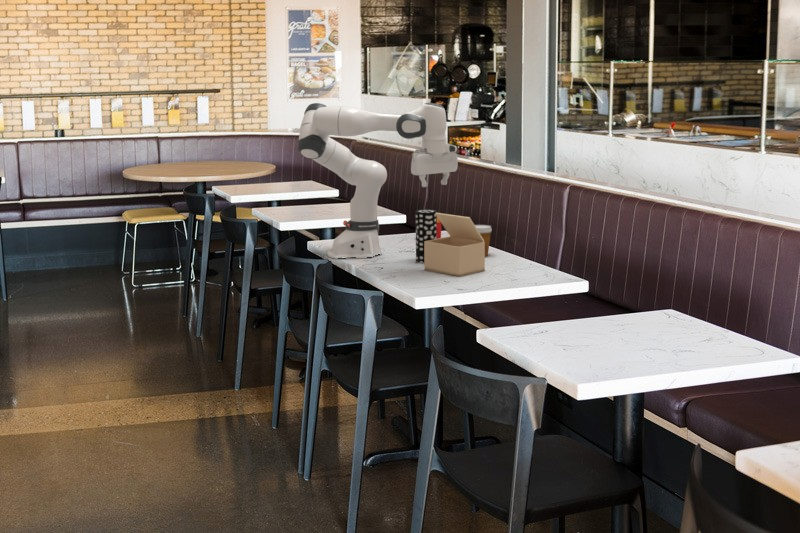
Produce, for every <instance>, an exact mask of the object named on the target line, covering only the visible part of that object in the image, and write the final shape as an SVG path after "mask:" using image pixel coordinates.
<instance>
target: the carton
mask: <svg viewBox="0 0 800 533" xmlns="http://www.w3.org/2000/svg"><path fill="white" fill-rule="evenodd" d="M485 259H486V257H485V242H481V241H475V240H468V239H462V238H456V237H450V236H444V237H441V238H439V239H434V240H428V241H424V263H423V264H424V265H423V266H424V271H429V272H434V273H439V274H444V275H449V276H455V277H458V278H459V277H464V276H468V275H472V274H477V273H480V272H481V273H482V272H485V269H486V268H485V265H486V264H485V262H486V260H485Z"/></svg>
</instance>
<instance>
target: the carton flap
mask: <svg viewBox="0 0 800 533" xmlns="http://www.w3.org/2000/svg"><path fill="white" fill-rule="evenodd" d="M436 215H437V217H438V218H439V220H440V221H441V225H442V226H443V228H444V229H445V231H446V232H447V233H448V235H449V237H456V238H462V239H468V240H475V241H481V242H484V239H483V238H482V236H481V235H480V233H479V231H478V230H477V228H476V227H475V225H476V224H475V223H474V222H473V220H472V218H471V217H470V216H462V215H458V214H457V215H455V214H450V213H443V212H442V213H441V212H437V213H436Z"/></svg>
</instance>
